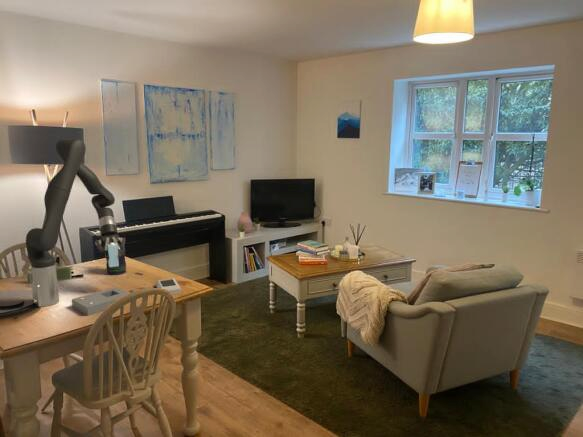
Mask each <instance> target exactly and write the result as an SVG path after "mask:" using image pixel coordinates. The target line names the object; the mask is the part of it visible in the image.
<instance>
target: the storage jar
mask: <svg viewBox="0 0 583 437" xmlns="http://www.w3.org/2000/svg"><path fill="white" fill-rule="evenodd" d="M125 244H126V243H125ZM125 244H124V249H123V250H121V251H120V252H121V257H120V258H119V259H118V261H119V266H116V267H109V265H108V260H107V259H106V263H105V264H106V267H105V268H106V274H107V275H108V276H120V275H123V274H126V273H127V262H126V247H125ZM118 245H119V247H121V245H122V243H121V242H120V243H119V242H118Z"/></svg>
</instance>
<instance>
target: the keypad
mask: <svg viewBox="0 0 583 437" xmlns="http://www.w3.org/2000/svg"><path fill="white" fill-rule="evenodd" d="M154 283H155V284H154V285H155V288H156V287H158V288H162V289H166V290H168V291H170V292H171V293H172V294H171V295H174V294H181V293H182V288H181V287H180V285H179V284H178V282H177V280H176V278H166V279H159V280H156V281H155V282H154Z"/></svg>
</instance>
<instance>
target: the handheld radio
mask: <svg viewBox="0 0 583 437" xmlns="http://www.w3.org/2000/svg"><path fill="white" fill-rule="evenodd" d="M73 267H74V265H71V266H70V265H68V266H61V267H60V266H59V267H56V273H57V282H58V281H60V282H61V281H67V280H72V279H74V278H83V277H84V276H85V275H84V273H82V274H81V273H80V274H75V272H74V271H73V270H74V268H73ZM73 274H75V275H73ZM26 276H27V283H28V285H32V283H33V276H32V269H31V270H30V269H28V270H26Z"/></svg>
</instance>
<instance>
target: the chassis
mask: <svg viewBox="0 0 583 437" xmlns="http://www.w3.org/2000/svg"><path fill="white" fill-rule="evenodd" d="M127 294H129V292H127V291H126V290H123V289H120V288H118V287H115V286H114V287H111V288H109V289H108V288H107V289H104V290H100V291H97V292H94V293H89V294H86V295H83V296H78V297H74V298H71V305H72V306H71V307H72V308H74V309H76V311H77V310H78V312H81V313H83V314H85V315H86V316H91V315H95V314H98V313H101V312H104V311H103V310H104V309H106V308H107V307H108V306H109V305H110V304H112V303H113V302H115V301H116V300H117V299H119V298H121V297H123V296H125V295H127Z"/></svg>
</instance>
